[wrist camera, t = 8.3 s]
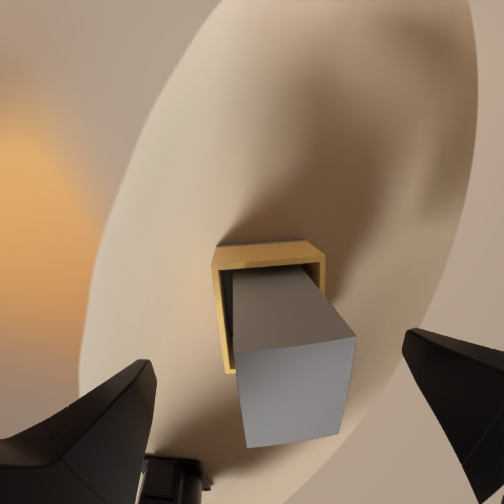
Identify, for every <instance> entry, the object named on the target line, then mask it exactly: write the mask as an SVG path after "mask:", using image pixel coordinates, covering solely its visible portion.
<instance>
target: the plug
mask: <svg viewBox="0 0 504 504" xmlns="http://www.w3.org/2000/svg"><path fill="white" fill-rule="evenodd" d="M355 344H356V335H355V334H354V332H353V331H352V330H351V329H350V327H349V326H348V325H347V323H346V322H345V321H344V320H343V318H342V317H341V316H340V315H339V313H338V312H337V311H336V310H335V308H334V307H333V306H332V305H331V303H330V302H329V301H328V300H327V298H326V297H325V296H324V295H323V293H322V292H321V291H320V290H319V288H318V287H317V286H316V285H315V284H314V282H313V281H312V280H311V279H310V277H309V276H308V275H307V274H306V273H305V271H304V270H303V269H302V268H301V266H300V265H299V264H290V265H278V266H266V267H254V268H241V269H233V353H234V361H235V369H236V376H237V384H238V391H239V398H240V405H241V412H242V419H243V425H244V432H245V438H246V444H247V448H253V447H263V446H272V445H280V444H288V443H294V442H300V441H306V440H311V439H316V438H321V437H326V436H330V435H335V434H339V430H340V426H341V421H342V417H343V413H344V408H345V403H346V398H347V393H348V388H349V382H350V377H351V371H352V365H353V358H354V351H355Z"/></svg>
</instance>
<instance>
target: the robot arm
mask: <svg viewBox="0 0 504 504" xmlns="http://www.w3.org/2000/svg"><path fill="white" fill-rule="evenodd" d="M402 354H403V356H404V358H405V360H406V362H407V364H408V366H409V368H410V371H411V373H412V375H413V377H414V379H415V381H416V383H417V385H418V387H419V388H420V390H421V392H422V394H423V395H424V397H425V399H426V400H427V402H428V404H429V406H430V407H431V409H432V411H433V412H434V414H435V416H436V418H437V419H438V421H439V423H440V425H441V427H442V428H443V430H444V432H445V434H446V436H447V438H448V440H449V441H450V443H451V445H452V447H453V449H454V451H455V453H456V455H457V457H458V459H459V461H460V463H461V464H462V468H463V470H464V472H465V474H466V476H467V478H468V480H469V482H470V485H471V487H472V489H473V491H474V494H475V496H476V498H477V501H478V503H479V504H482V503H483V502H485V501H486V500H487V499H488V498H489V497H491V496H492V495H493V494H494V493H495V492H497V491H498V490H499V489H500V488H501V487H502V486H503V485H504V351H499V350H496V349H491V348H488V347H484V346H480V345H477V344H473V343H469V342H466V341H462V340H458V339H454V338H451V337H448V336H443V335H440V334H437V333H433V332H430V331H426V330H423V329H419V328H413V329H409V330H407V331H406V333H405V338H404V342H403V346H402ZM156 388H157V379H156V376H155V373H154V369H153V366H152V363H151V361H150V360H148V359H138V360H136V361H135V362H134V363H132V364H131V365H129V366H128V367H126V368H125V369H123V370H122V371H120V372H119V373H117V374H116V375H114V376H113V377H111V378H110V379H108V380H107V381H105V382H104V383H102V384H101V385H99V386H98V387H96V388H95V389H93V390H92V391H90V392H89V393H87V394H86V395H84V396H83V397H81V398H80V399H78V400H77V401H75V402H74V403H72V404H70V405H69V406H68V407H66V408H64V409H63V410H61V411H59V412H58V413H56V414H54V415H53V416H51V417H50V418H48V419H46V420H44V421H42V422H40V423H38V424H36V425H34V426H32V427H30V428H28V429H26V430H24V431H22V432H20V433H18V434H16V435H14V436H12V437H9V438H5V439H0V504H135V501H136V495H137V490H138V485H139V480H140V475H141V472H142V473H143V479H142V484H141V488H140V493H139V497H138V502H137V504H201V497H202V491H210V490H211V486H210V483H209V481H208V479H207V477H206V475H205V472H204V470H203V468H202V465H201V463H200V462H199V461H195V460H176V459H164V458H154V457H145V451H146V447H147V442H148V438H149V434H150V429H151V425H152V420H153V412H154V404H155V396H156ZM501 504H504V495H503V498H502V502H501Z"/></svg>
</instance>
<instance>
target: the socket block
mask: <svg viewBox="0 0 504 504" xmlns="http://www.w3.org/2000/svg"><path fill="white" fill-rule="evenodd" d="M290 264H299V265H300V266H301V268H302V269H303V270H304V271H305V273H306V274H307V275H308V276H309V277H310V279H311V280H312V281H313V282H314V284H315V285H316V286H317V287H318V288H319V290H320V291H321V292H322V293H323V295H324V296H325V278H326V255H325V254H323V253H322V252H321V251H319V250H318V249H317V248H315V247H314V246H313V245H312V244H310V243H309V242H308V241H306V240H305V239H300V240H286V241H272V242H258V243H245V244H231V245H218V246H216V249H215V253H214V256H213V260H212V264H211V267H212V276H213V285H214V294H215V302H216V310H217V318H218V326H219V333H220V341H221V348H222V355H223V362H224V368H225V374H231V373H236V369H235V361H234V353H233V269H241V268H254V267H266V266H278V265H290Z"/></svg>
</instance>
